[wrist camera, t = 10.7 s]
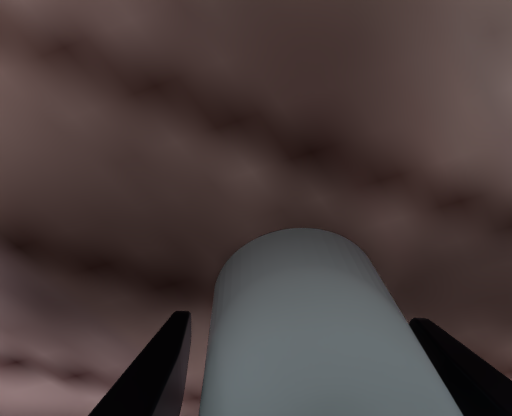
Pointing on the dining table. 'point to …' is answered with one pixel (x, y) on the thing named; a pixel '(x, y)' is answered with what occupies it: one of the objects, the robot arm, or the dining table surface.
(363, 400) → the jar
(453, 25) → the dining table surface
